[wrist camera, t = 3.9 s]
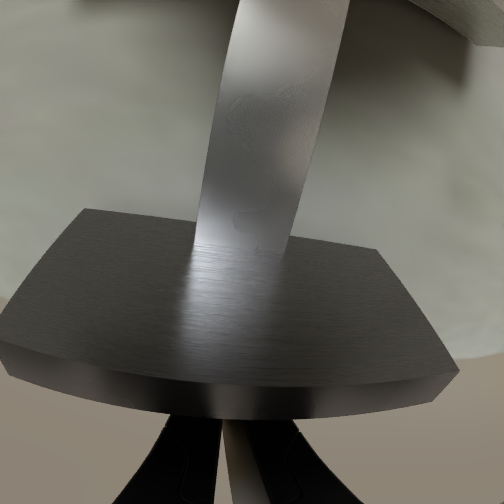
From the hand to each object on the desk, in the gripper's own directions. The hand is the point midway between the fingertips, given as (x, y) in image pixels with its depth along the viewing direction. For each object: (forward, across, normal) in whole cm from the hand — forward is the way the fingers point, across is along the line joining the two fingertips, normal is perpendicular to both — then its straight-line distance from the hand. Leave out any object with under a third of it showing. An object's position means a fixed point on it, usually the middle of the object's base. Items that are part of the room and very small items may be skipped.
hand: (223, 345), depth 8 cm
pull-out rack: (+1, 0, -11) cm, 11 cm away
